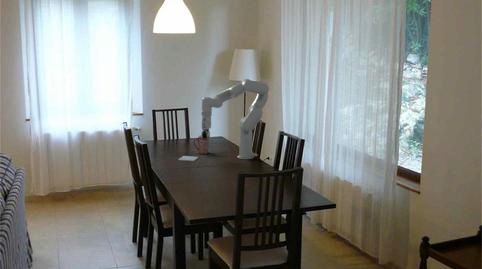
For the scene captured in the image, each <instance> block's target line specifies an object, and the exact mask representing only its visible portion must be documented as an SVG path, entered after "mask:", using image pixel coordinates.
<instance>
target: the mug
mask: <svg viewBox="0 0 482 269" xmlns="http://www.w3.org/2000/svg"><path fill="white" fill-rule="evenodd" d="M196 140H197V142H198V147H197V145H196V143H195V142H196ZM192 141H193V145H194V147H195V148H196V149H197V150H198V153H199V154H201V155H207V154H208V153H209V145H210V138H209V139H203V138H201V135H198V138H194V139H193V140H192Z"/></svg>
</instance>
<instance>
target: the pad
mask: <svg viewBox="0 0 482 269" xmlns="http://www.w3.org/2000/svg"><path fill="white" fill-rule="evenodd" d="M198 159H199V156H190V155H182V156H181V157H180V158H178V159H177V161H183V162H196V160H198Z"/></svg>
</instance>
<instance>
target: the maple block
mask: <svg viewBox="0 0 482 269" xmlns="http://www.w3.org/2000/svg"><path fill="white" fill-rule="evenodd" d="M202 132H203V130H202V131H201V133H202ZM206 133H207V138H206V139H209V140H210V138H211V135H210V134H211V130H209V131H207V132H206ZM200 136H201V138H202V134H201V135H200ZM203 139H205V138H203Z"/></svg>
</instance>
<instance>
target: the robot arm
mask: <svg viewBox="0 0 482 269" xmlns="http://www.w3.org/2000/svg"><path fill="white" fill-rule="evenodd" d="M269 91H270V87H269V85H268V84H267V83H265V82H262V81H260V82H259V81H254V80H251V79H248V78H246V79H243V80H241V81H240V82H238V83H236V84H235V85H233V86H232V87H230V88H227V89H226V90H224V91H221V92H219V93H218V94H217V95H215V96H213V97H207V96H204V97H201V98H202V99H201V117H202V118H201V130H202V131H203V132H202V131H201V135H202V138H205V139H206V138H207V133H206V132H207V131H210V129H212V116H213V115H212V114H213V113H212V112H213V108H215V109H220V108H222V107H223V105H224V103H225V102H227V101H229V100H233V99H236V98H238V97H241V95H243V94H245V93H246V92H249V93H253V94H256V97H255V98H254V101H253V102H252V104H251V105H250V106H249V108H248V110H247V113H248V114H247V116H243V117H241V118H240V120H239V124H238V125H239V149H238V150H239V154H238V155H237V157H236V158H237V159H240V160H252V159H254V158H255V157H258V154H257V153H255V152H253V131H254V129H255V128H256V127H257V124H258V123H259V122H260V120H261V119H262V117H263V109H264V107H265V105H266V103H267V102H268V100H269Z"/></svg>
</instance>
